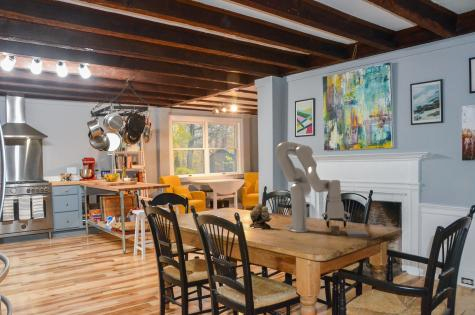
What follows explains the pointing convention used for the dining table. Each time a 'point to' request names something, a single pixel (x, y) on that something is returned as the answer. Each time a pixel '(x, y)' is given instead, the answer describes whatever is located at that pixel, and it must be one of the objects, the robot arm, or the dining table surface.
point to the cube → (335, 230)
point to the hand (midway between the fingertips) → (336, 227)
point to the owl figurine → (260, 217)
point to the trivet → (357, 234)
